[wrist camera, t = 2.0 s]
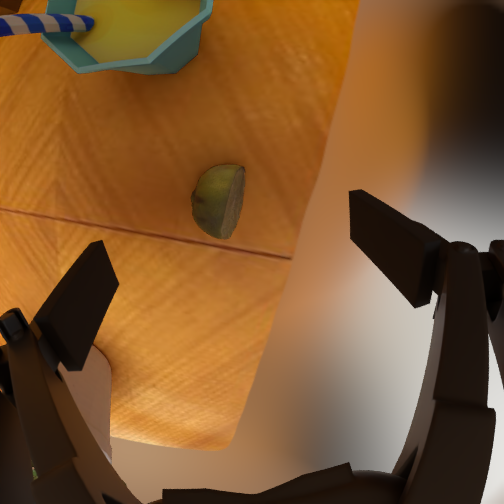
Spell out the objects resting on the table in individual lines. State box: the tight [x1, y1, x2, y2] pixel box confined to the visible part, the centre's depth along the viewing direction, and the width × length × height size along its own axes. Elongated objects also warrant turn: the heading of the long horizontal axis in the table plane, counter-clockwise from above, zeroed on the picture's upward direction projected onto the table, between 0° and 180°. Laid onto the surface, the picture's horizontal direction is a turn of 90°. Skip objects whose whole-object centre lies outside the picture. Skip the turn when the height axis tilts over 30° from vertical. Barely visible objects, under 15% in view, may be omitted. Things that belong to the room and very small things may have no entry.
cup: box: [0, 0, 213, 75], centre depth 9 cm, size 14×8×15 cm, turn 109°
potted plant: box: [31, 345, 126, 485], centre depth 19 cm, size 13×14×20 cm
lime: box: [191, 164, 245, 239], centre depth 19 cm, size 4×5×5 cm
